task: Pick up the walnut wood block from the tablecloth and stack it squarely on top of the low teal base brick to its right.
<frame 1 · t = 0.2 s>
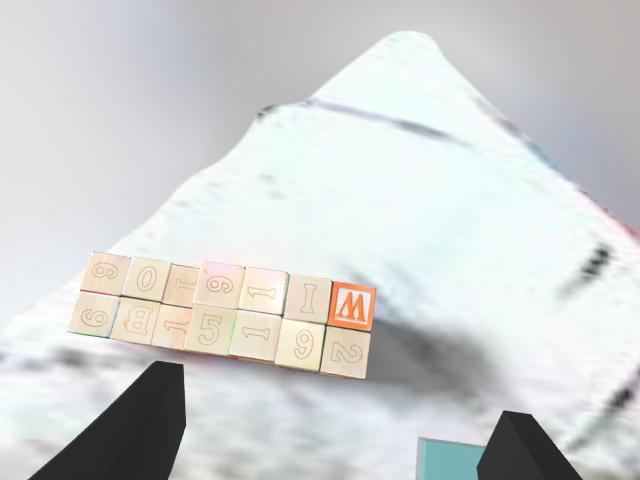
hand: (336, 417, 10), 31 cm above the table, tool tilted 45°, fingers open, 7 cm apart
stack of blocks: (238, 326, 41), on the table
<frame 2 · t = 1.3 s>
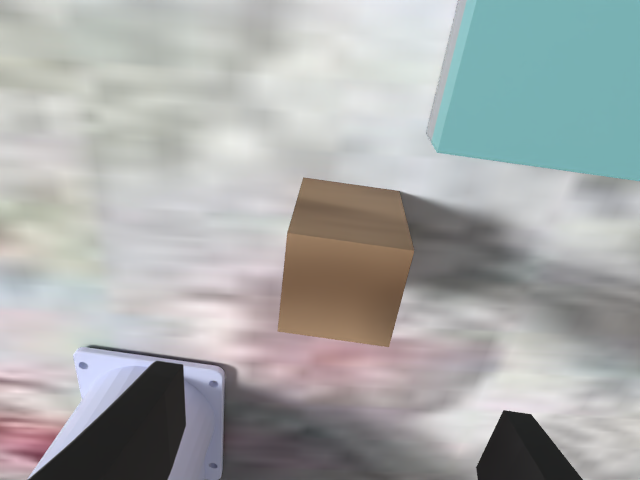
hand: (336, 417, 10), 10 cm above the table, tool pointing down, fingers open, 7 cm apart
base brick: (550, 47, 15), on the table
walnut block: (344, 226, 19), on the table
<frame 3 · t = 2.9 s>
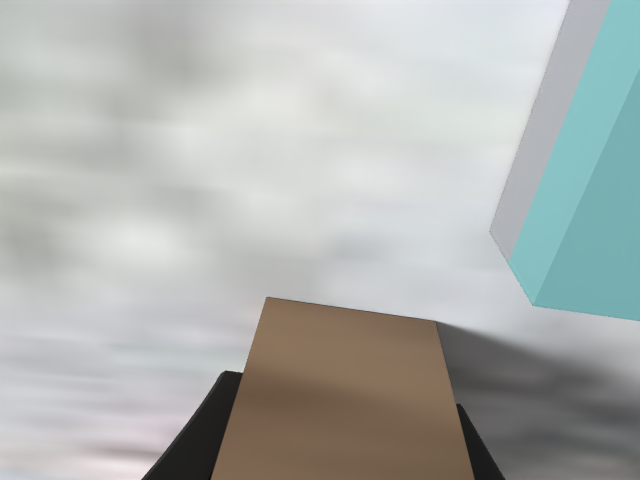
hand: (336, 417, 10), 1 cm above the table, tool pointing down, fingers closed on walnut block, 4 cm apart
walnut block: (338, 370, 11), on the table, touching gripper
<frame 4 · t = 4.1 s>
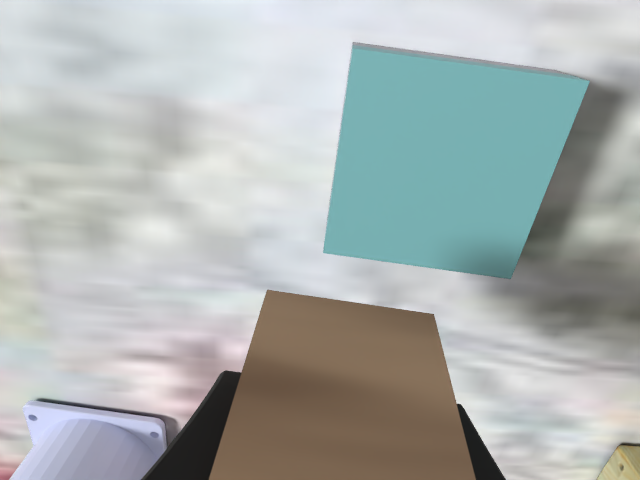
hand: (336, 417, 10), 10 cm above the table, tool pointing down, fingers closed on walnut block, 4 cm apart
base brick: (429, 154, 17), on the table
walnut block: (338, 363, 11), point 8 cm above the table, touching gripper
when the fingers open (5 cm above the table, at t = 5.6 s): walnut block drops 1 cm, resting on base brick.
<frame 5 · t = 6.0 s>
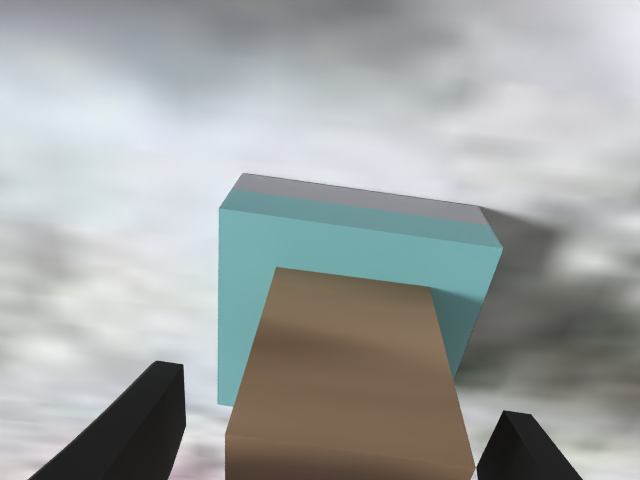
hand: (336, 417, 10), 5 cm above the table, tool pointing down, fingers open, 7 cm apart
base brick: (342, 286, 14), on the table
walnut block: (342, 335, 12), point 2 cm above the table, touching base brick
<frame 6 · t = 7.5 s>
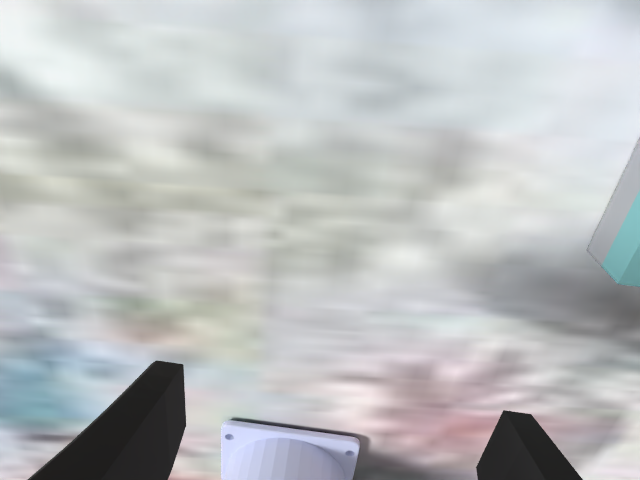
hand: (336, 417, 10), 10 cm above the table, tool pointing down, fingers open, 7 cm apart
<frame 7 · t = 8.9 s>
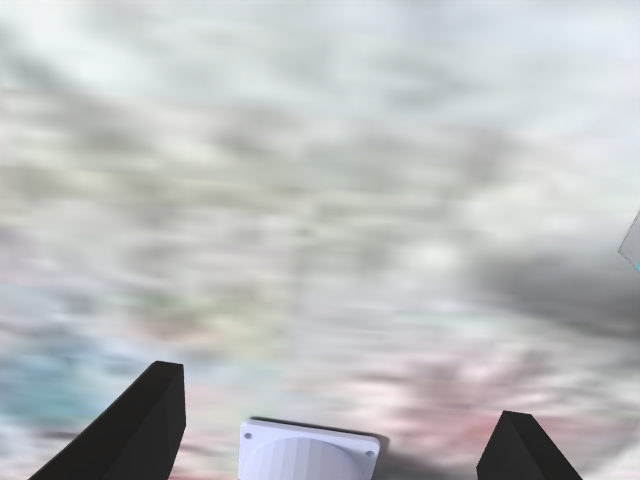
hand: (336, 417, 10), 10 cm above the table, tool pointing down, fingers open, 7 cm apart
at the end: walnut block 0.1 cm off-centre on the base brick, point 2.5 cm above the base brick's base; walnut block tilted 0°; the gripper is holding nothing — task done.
